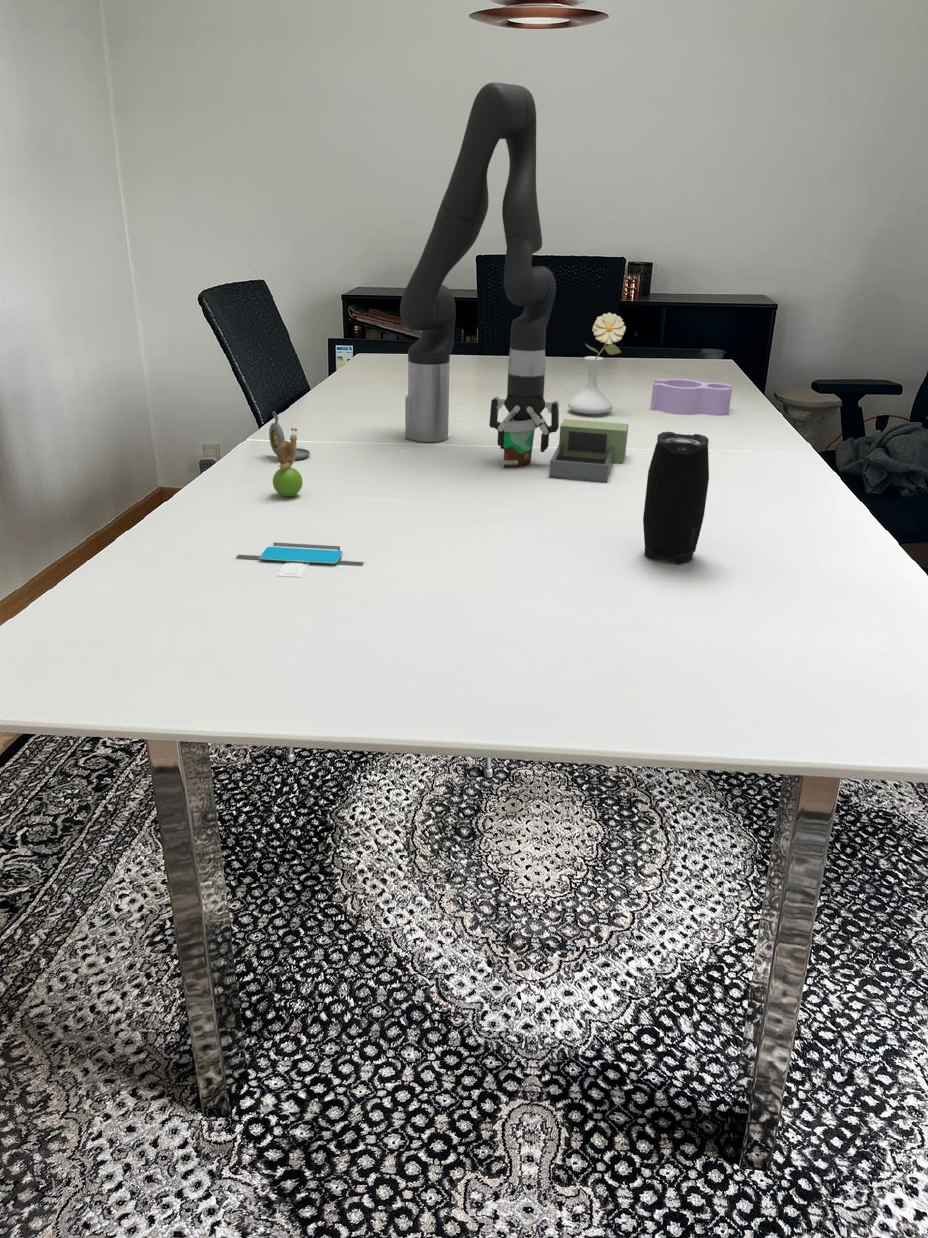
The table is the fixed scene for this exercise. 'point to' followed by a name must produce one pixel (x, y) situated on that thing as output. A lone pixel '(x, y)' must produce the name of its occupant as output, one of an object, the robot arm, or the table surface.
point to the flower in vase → (591, 397)
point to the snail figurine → (287, 469)
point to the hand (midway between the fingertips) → (522, 449)
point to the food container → (518, 443)
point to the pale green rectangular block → (593, 439)
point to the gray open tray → (580, 466)
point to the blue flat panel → (300, 557)
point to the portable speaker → (676, 496)
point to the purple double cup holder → (690, 397)
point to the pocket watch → (282, 439)
